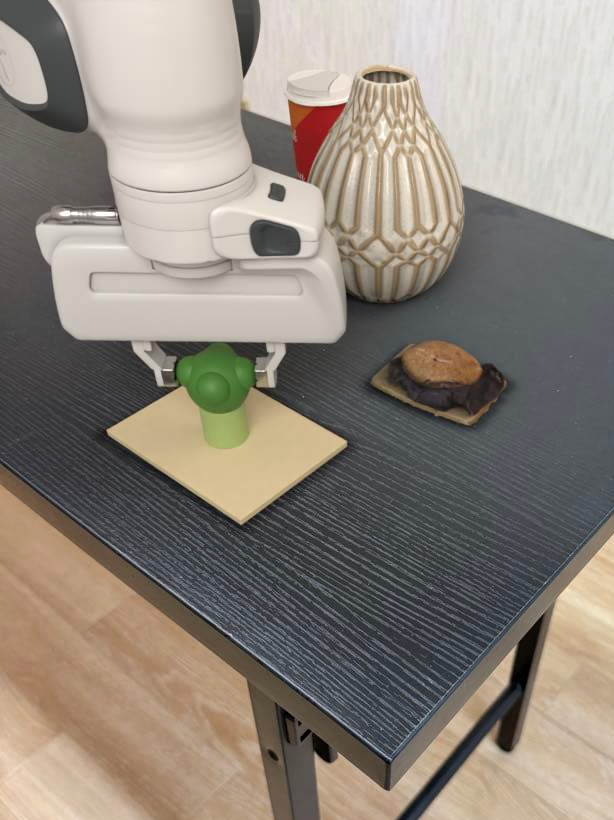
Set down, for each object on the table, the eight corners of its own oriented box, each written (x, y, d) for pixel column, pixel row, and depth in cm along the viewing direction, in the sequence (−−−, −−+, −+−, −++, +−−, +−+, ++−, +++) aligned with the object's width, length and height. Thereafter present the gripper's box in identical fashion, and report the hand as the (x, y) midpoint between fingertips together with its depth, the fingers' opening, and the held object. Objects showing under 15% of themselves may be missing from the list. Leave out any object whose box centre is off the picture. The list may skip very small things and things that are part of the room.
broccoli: (182, 459, 64) (164, 377, 58) (194, 410, 68) (179, 329, 63) (260, 461, 65) (250, 379, 59) (267, 411, 69) (259, 331, 63)
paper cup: (314, 188, 100) (308, 62, 90) (368, 202, 98) (368, 75, 87) (279, 213, 95) (268, 83, 85) (335, 229, 93) (330, 97, 83)
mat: (107, 435, 67) (106, 429, 67) (216, 371, 74) (215, 365, 73) (241, 525, 60) (240, 520, 60) (347, 446, 67) (347, 441, 67)
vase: (298, 319, 80) (281, 102, 65) (317, 242, 91) (306, 41, 76) (458, 327, 80) (478, 112, 65) (458, 249, 90) (475, 49, 76)
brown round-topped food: (364, 390, 72) (364, 355, 70) (414, 345, 77) (415, 311, 75) (467, 432, 69) (471, 397, 66) (512, 383, 74) (517, 348, 71)
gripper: (11, 227, 50) (72, 406, 60) (341, 233, 51) (347, 409, 61) (40, 184, 54) (93, 357, 64) (344, 189, 55) (349, 360, 65)
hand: (218, 382), depth 63 cm, fingers closed on broccoli, 6 cm apart
